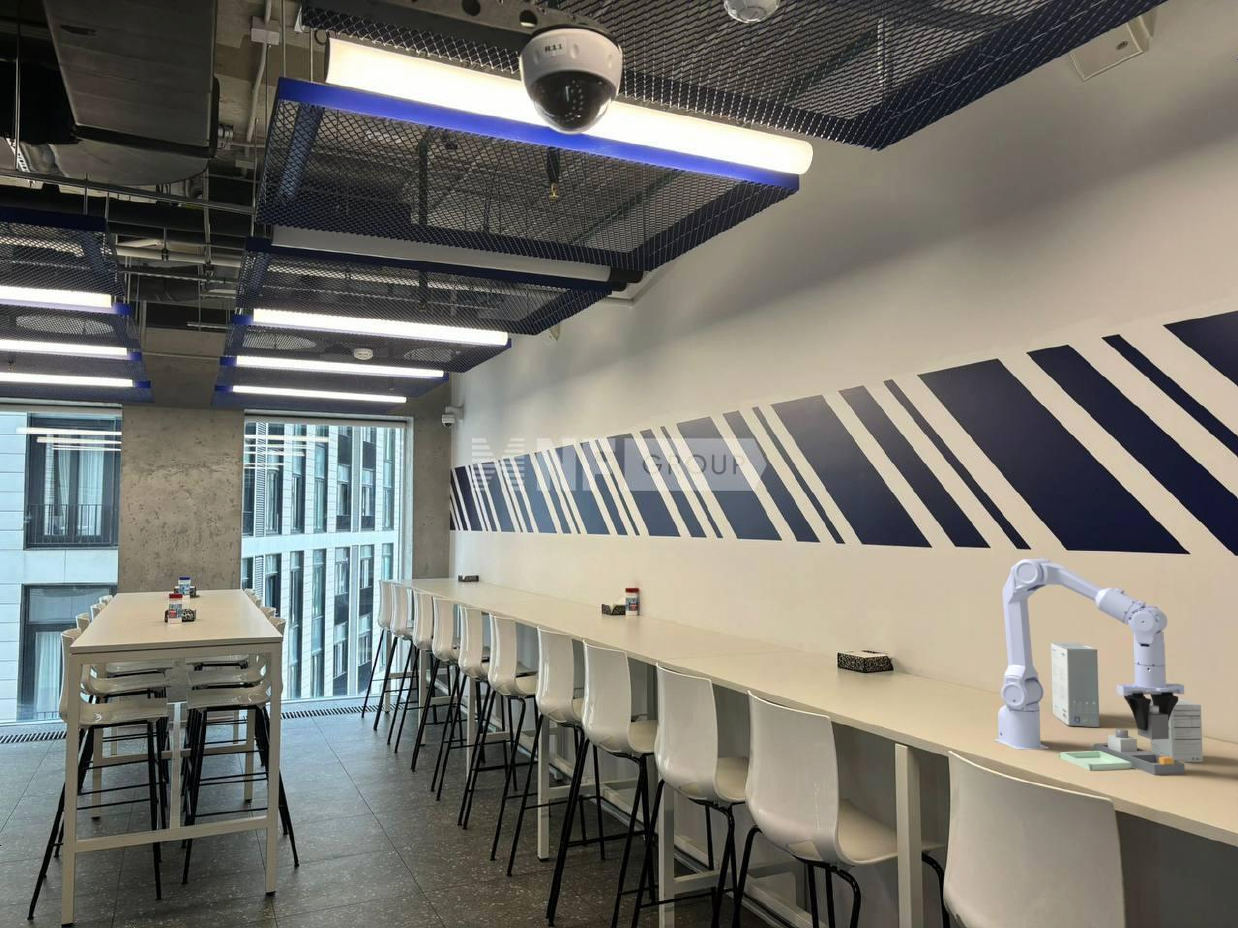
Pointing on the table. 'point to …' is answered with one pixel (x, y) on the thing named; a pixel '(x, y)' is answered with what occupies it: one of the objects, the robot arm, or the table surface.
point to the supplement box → (1182, 734)
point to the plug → (1156, 724)
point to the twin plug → (1122, 741)
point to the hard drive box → (1075, 684)
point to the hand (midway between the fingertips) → (1152, 729)
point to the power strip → (1146, 760)
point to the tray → (1095, 760)
